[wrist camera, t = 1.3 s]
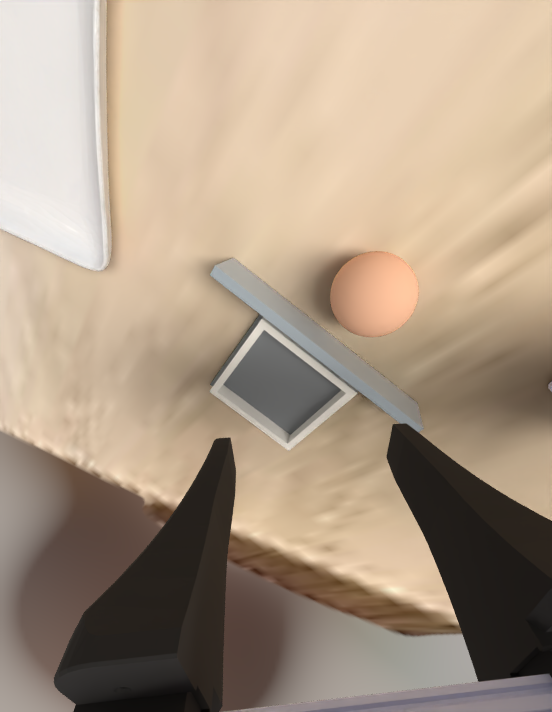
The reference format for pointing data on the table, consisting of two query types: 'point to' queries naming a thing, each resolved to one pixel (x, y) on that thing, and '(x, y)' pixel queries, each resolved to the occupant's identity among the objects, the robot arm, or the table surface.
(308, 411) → the white square tray
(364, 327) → the ball
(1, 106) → the salad plate
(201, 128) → the table surface
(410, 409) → the low wall
